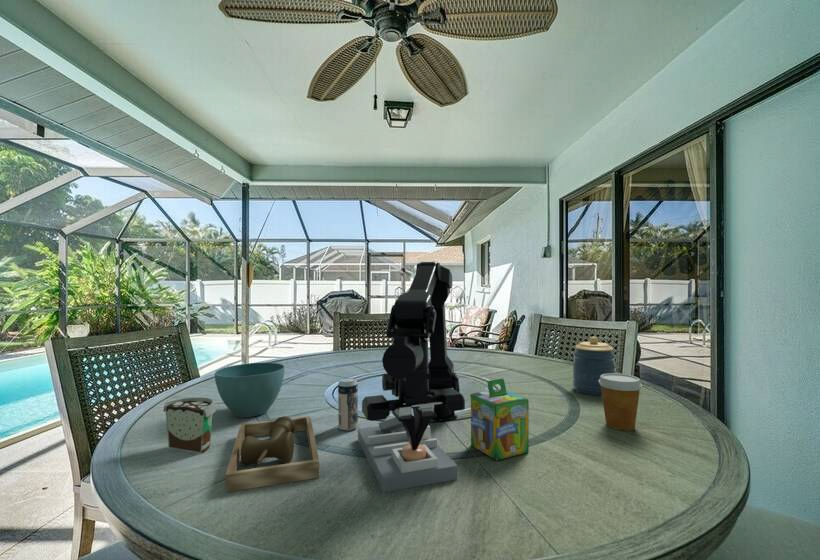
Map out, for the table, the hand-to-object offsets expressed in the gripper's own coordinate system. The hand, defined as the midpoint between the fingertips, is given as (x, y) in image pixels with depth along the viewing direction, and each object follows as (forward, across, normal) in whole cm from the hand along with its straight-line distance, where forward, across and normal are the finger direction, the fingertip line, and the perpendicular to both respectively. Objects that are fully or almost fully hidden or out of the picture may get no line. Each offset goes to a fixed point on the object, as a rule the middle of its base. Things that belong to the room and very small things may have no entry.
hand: (414, 449), depth 74 cm
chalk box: (+5, -21, -5) cm, 22 cm away
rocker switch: (+1, 0, -16) cm, 16 cm away
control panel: (+5, 0, -8) cm, 9 cm away
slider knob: (+2, -4, -8) cm, 9 cm away
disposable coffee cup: (+5, -56, -7) cm, 57 cm away
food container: (+5, +42, -29) cm, 51 cm away
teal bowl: (+5, +32, -49) cm, 59 cm away
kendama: (+5, +26, -18) cm, 32 cm away
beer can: (+5, +8, -28) cm, 30 cm away
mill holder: (+5, +25, -18) cm, 31 cm away
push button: (+2, 0, 0) cm, 2 cm away
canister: (+5, -73, -34) cm, 81 cm away
